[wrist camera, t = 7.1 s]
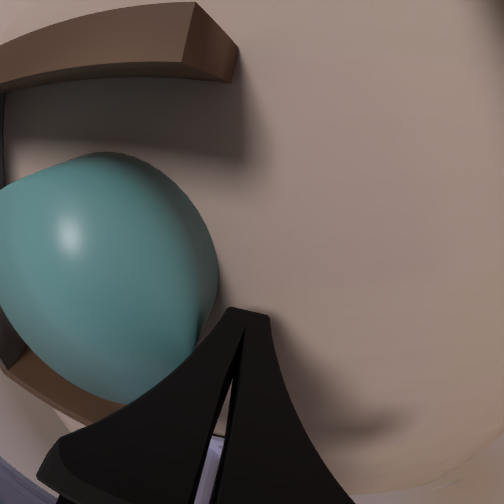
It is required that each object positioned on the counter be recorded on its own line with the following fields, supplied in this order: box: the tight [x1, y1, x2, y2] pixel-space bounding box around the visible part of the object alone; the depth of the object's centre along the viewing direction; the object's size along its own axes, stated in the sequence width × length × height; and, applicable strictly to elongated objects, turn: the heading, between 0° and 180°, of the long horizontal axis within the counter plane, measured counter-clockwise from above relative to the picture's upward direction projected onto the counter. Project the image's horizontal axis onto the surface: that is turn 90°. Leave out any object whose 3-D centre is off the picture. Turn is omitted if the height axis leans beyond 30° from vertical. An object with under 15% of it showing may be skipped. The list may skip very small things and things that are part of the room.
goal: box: [0, 2, 238, 426], centre depth 9 cm, size 17×12×4 cm
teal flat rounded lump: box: [0, 152, 218, 405], centre depth 9 cm, size 9×9×4 cm
